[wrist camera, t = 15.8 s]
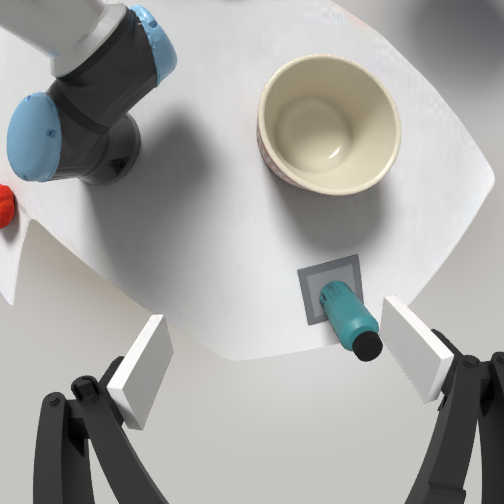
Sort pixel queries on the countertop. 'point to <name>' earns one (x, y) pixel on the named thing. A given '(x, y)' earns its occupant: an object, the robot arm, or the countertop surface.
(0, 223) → the tomato
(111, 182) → the robot arm
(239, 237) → the countertop surface
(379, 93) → the planter
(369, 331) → the beverage bottle
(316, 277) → the slate mat
